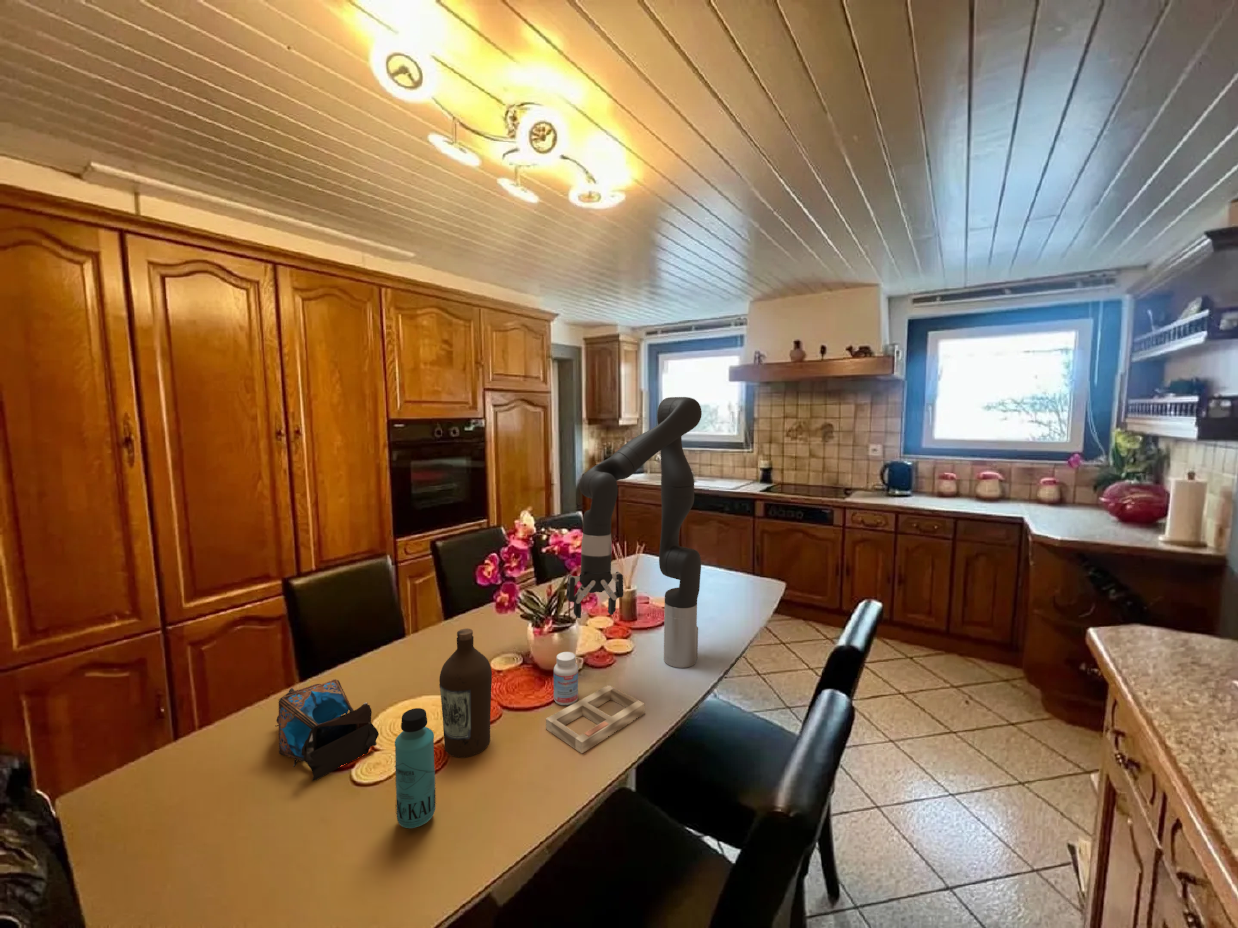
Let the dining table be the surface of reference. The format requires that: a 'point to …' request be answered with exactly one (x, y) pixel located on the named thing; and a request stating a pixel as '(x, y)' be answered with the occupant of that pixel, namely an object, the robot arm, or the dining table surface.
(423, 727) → the beverage bottle
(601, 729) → the plate
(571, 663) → the pill bottle
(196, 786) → the dining table surface
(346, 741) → the lantern
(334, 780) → the dining table surface
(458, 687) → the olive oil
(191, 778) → the dining table surface
